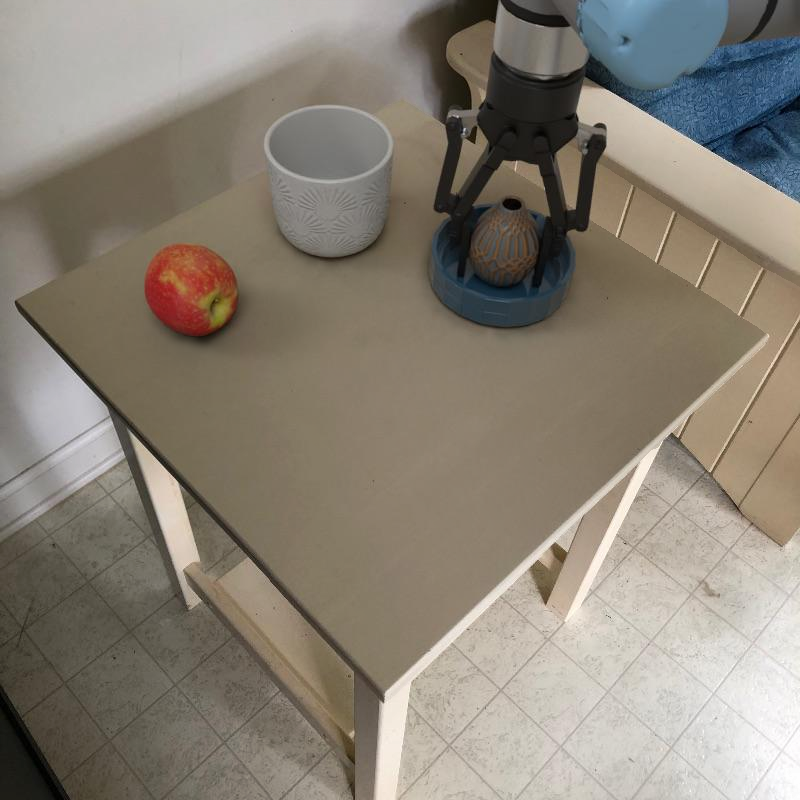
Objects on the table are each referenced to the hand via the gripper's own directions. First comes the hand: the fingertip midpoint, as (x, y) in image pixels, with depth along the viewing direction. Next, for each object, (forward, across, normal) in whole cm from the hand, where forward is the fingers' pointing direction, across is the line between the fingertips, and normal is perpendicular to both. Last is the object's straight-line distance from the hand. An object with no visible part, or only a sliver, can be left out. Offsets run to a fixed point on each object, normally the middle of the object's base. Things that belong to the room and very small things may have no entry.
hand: (499, 270), depth 83 cm
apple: (+1, +28, +11) cm, 30 cm away
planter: (+1, +18, -4) cm, 18 cm away
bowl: (+1, 0, 0) cm, 1 cm away
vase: (0, 0, 0) cm, 0 cm away
